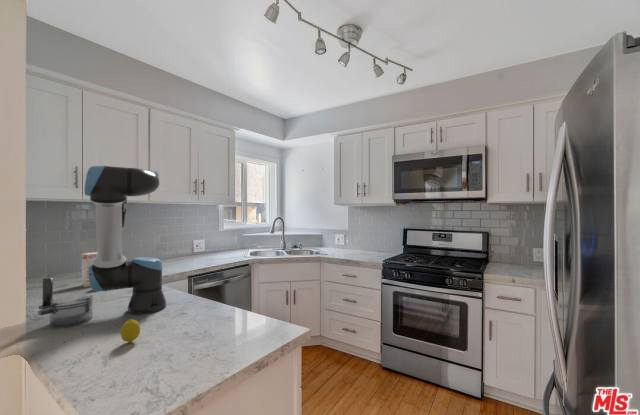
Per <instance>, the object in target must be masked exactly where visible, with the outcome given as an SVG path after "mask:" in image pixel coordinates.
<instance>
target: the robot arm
mask: <svg viewBox="0 0 640 415" xmlns="http://www.w3.org/2000/svg"><path fill="white" fill-rule="evenodd" d="M159 186H160V179H159V172H158V171H154V170H147V169H142V168H136V167H123V166H109V165H92V166H90V167H89V168H88V169H87V174H86V177H85V182H84V195H85V196H88V197H89V199H90V201H91V203H93V204H94V205H95V225H96V227H95V228H96V230H95V231H96V232H95V233H96V250H97V251H96V252H97V258H96V259H95V260H94V261H93V264H92V265H90V266H89V271H88V273H89V282H90V286H89V287H90V288H91V289H92V290H93V291H94V292H107V291H117V290H123V289H131V288H132V293H131V297H130V299H129V302H128V305H127V313H129V314H131V315H143V314H144V315H145V314H151V313H155V312H159V311H162V310H163V309H165V308H166V307H167V299H166V296H165V294H164V292H163V270H164V269H163V262H162V260H161V259H159V258H157V257H149V256H147V257H146V256H140V257H139V256H138V257H133V258H132V261H127V256H124V255H123V228H124V227H125V220H126V219H125V218H126V213H127V209H126V208H125V204H127V202H128V199H127V198H128V197H141V196H145V195H148V194H151V193H153V192H155V191H156V190H157V189H158V188H159Z"/></svg>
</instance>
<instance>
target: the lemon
mask: <svg viewBox="0 0 640 415" xmlns="http://www.w3.org/2000/svg"><path fill="white" fill-rule="evenodd" d="M140 333H141V326H140V323H139V322H138V320H135V319H132V318H130V319H128V320H127V321H125V322H124V323H123V324H122V325H121V329H120V337H121V339H122V340H123V341H124V342H128V343H129V344H131V343H133V341H136V339H137V338H138V337H139V335H140Z"/></svg>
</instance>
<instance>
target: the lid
mask: <svg viewBox="0 0 640 415" xmlns="http://www.w3.org/2000/svg"><path fill="white" fill-rule="evenodd" d="M53 287H54V278H53V277H52V276H51V277H44V278H42V305H38V309H39V310H43V309H48V308H51V307H61V306H70V305H76V304H80V303H84V302H87V301H90V300H92V299H93V300H94V296H93V294H90V293H89V294H88V293H86V294H84V293H83V294H82V293H81V294H71V295H67V296H61V297H58V298H55V299H53V298H54V293H53V292H54V290H53V289H54V288H53Z"/></svg>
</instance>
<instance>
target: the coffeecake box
mask: <svg viewBox="0 0 640 415" xmlns="http://www.w3.org/2000/svg"><path fill="white" fill-rule="evenodd" d="M96 258H97V251H93V252H92V251H91V252H84V253H81V286H82V287H84V288H87V287H91V286H90V282H89V273H88V271H89V266H90V265H92V264H93V261H94V260H95V259H96Z"/></svg>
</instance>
